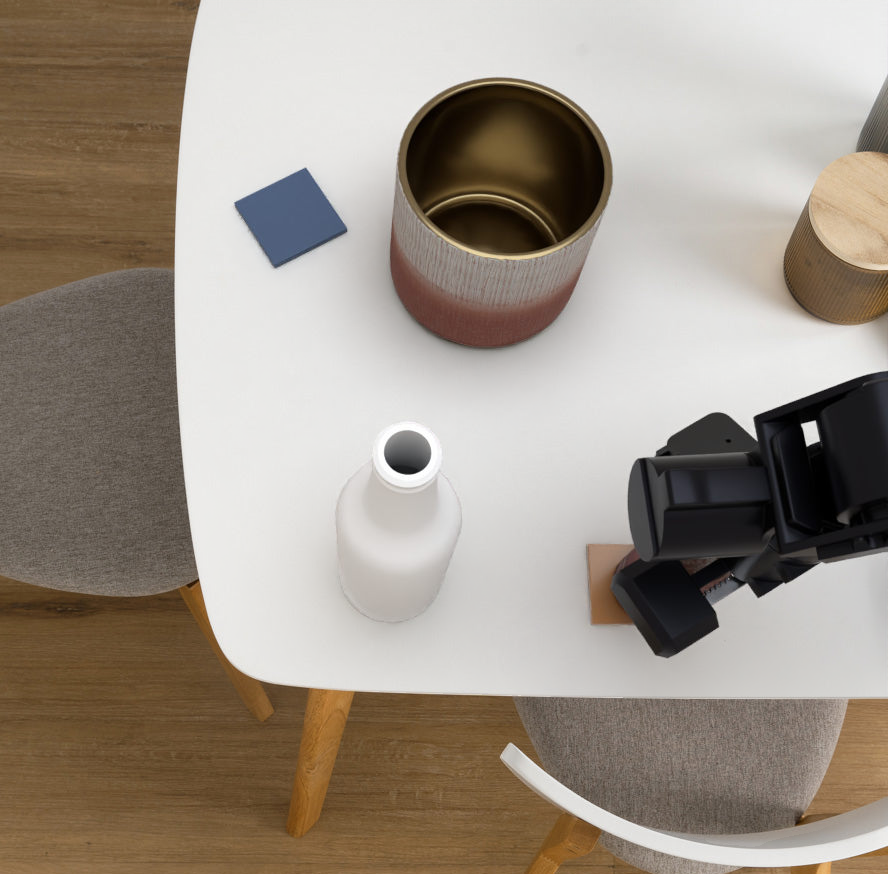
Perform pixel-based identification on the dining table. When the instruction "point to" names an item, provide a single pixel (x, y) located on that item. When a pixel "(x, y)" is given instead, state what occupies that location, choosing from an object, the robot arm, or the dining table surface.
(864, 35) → the dining table surface
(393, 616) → the alcohol
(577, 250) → the planter
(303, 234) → the slate mat
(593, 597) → the caramel mat
